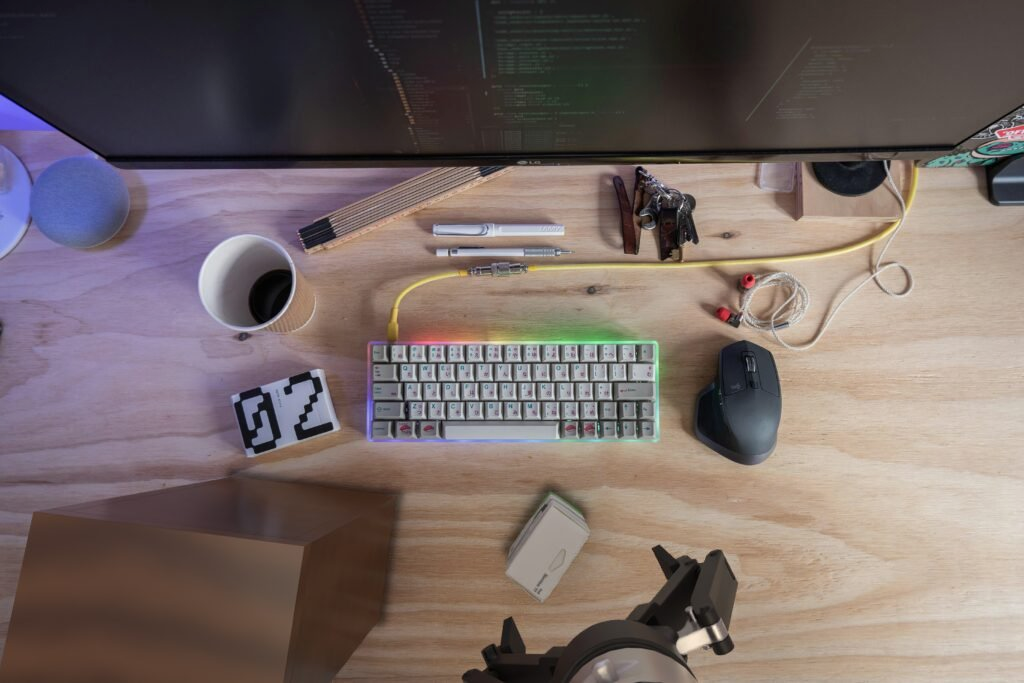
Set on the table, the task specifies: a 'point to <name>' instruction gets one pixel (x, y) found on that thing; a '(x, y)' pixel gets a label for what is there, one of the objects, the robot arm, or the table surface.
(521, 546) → the ink box
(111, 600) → the shelf
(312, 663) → the shelf stand
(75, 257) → the table surface
